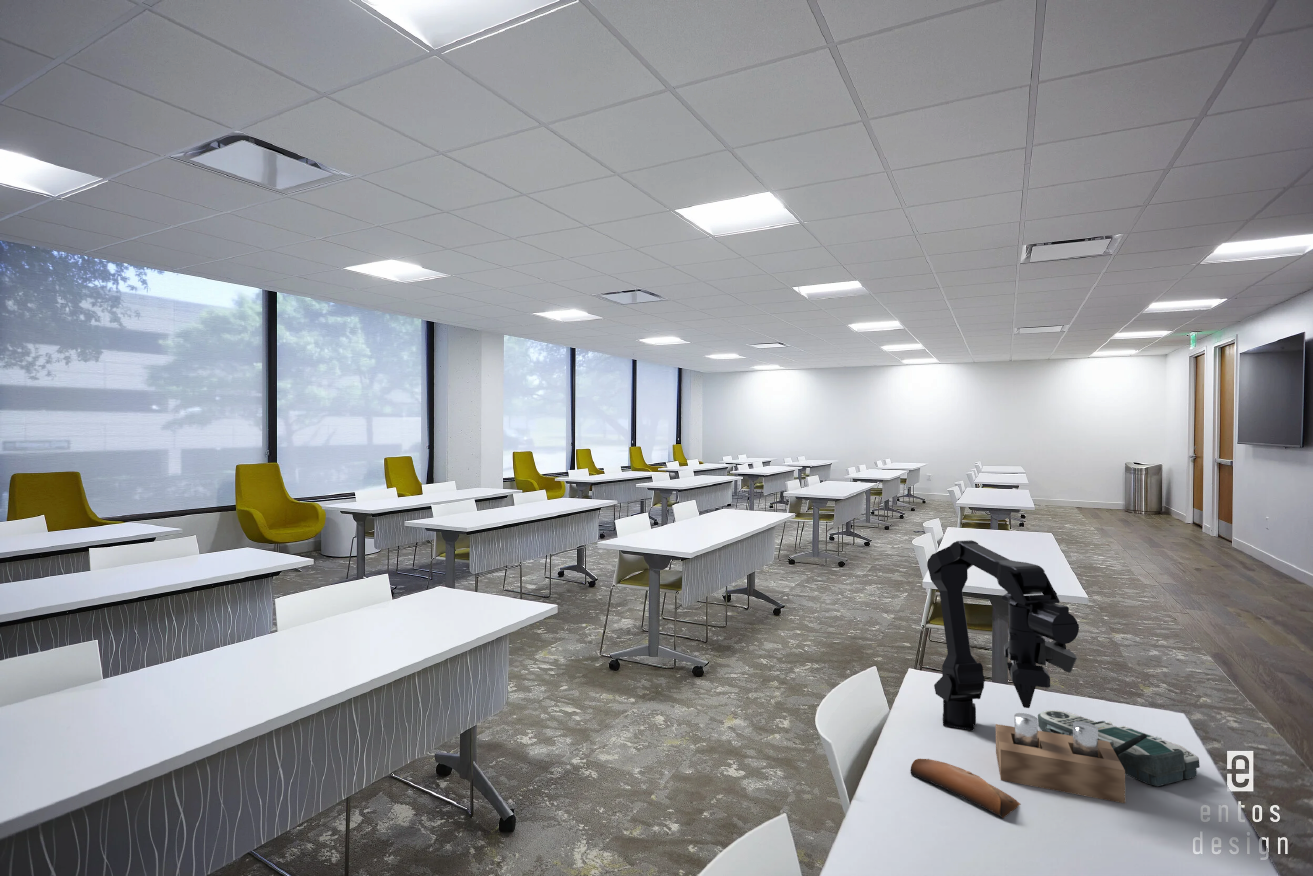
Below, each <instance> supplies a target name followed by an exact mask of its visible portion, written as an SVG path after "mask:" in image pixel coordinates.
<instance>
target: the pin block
mask: <svg viewBox="0 0 1313 876" xmlns="http://www.w3.org/2000/svg"><path fill="white" fill-rule="evenodd" d="M995 755H996V760H997V766H998V771H999V778H1000V781H1003V782H1008V783H1015V784H1020V785H1023V786H1024V785H1025V786H1031V787H1036V788H1042V789H1047V790H1052V791H1057V792H1062V793H1067V794H1073V795H1079V796H1083V797H1084V796H1085V797H1087V798H1088V797H1089V798H1094V799H1101V800H1106V801H1109V802H1110V801H1111V802H1116V803H1121V804H1126V774H1125V770H1124V768H1123V766H1122V764H1121V762H1120V761H1119V759H1118V757H1117V755H1116V753H1115V752H1114V750H1113V748H1112V746H1111V744H1110V743H1109V742H1108V741H1102V740H1098V758H1096V757H1090V756H1084V755H1078V754H1073V736H1069V735H1063V734H1057V733H1050V732H1044V731H1042V730H1038V748H1035V747H1029V746H1023V745H1017V744H1015V726H1010V725H1003V724H997V723H995Z"/></svg>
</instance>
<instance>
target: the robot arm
mask: <svg viewBox="0 0 1313 876" xmlns="http://www.w3.org/2000/svg"><path fill="white" fill-rule="evenodd" d="M926 565H927V566H926V567H927V570H928V573H929V578H930V580H931V582H932V584H933V585H934V586H935V587H936V588H937V590H938V591H939V596H940V597H939V600H940V606H941V614H942V620H943V628H944V637H945V643H946V651H947V655H946V657H945V659H944V661H943V662H942V663H943V664H942V665H941V672H942V673H941V674H942V676H941V677H940V678H939V679H938V680H937V681H936V682H935V683H934V685H933V688H934V692H935V695H936V696H938V697H939V698H941V699H942V700H943V701H942V705H943V707H942V708H943V709H942V710H943V712H942V726H944V727H949V728H956V729H961V730H967V731H975V726H976V725H977V714H976V713H977V709H976V708H977V707H976V703H975V702H974V701H973V700H981V697H982V693H983V690H984V689H985V682H986V680H985V677H984V676H985V675H984V666H983V664H982V663H981V662H977V660H976V659H975V658H974V656H973V655H972V652H971V643H970V638H969V636H970V635H969V631H968V624H967V615H966V608H965V603H964V595H963V590H964V588H965V585H966V583H967V581H968V577H969V576H968V575H969V573H968V570H969V569H971V567H973V566H974V567H976V568H978V569H979V570H980V571H983V572H984V573H986V574H988V575H990V576H993V578H995V579H996V580H997V584H998V586H1000V587H1001V588H1002V589H1004V591H1005V592H1006V593H1005V594H1003V595H1002V596H1001V599H1000V600H1002V601H1004V602H1007V603H1008V627H1007V635H1008V641H1007V642H1006V643H1005V644H1003V654H1004V658H1009V659H1010V660H1009V661H1011V662H1009V661H1008V662H1006V666H1007V669H1008V671H1009V672H1008V673H1009V676H1010V678H1011V682H1012V683H1013V686H1014V689H1015V690H1016V694H1017V695H1018V698H1019V700H1020V703H1021V705H1022V707H1023V708H1025V709H1030V708H1031V704H1032V701H1033V697H1034V694H1035V690H1036V688H1037V687H1040V688H1045V689H1047V688H1048V689H1049V688H1051V676H1050V674H1049V672H1048V670H1046V668H1045V667H1043V666H1046V664H1047V663H1048V664H1050V665H1053V666H1055V667H1057V668H1060V669H1062V671H1064V672H1066V673H1068V674H1069V673H1072V671H1073V668H1074V666H1075V663H1076V662H1077V660H1078V659H1077V658H1078V657H1077V656H1076V654H1075V652H1073V651H1071V649H1069V648H1068V649H1067V644H1070V643H1072V642H1074V640H1076V638H1077V636H1078V634H1079V632H1080V631H1079V629H1080V625H1079V623H1078V620H1077V619H1076V618H1075V616H1074V615H1073V614H1071V613H1070V608H1069V606H1067V605H1065V604H1064V605H1063V604H1059V603H1060V599H1059V596H1058V593H1057V592H1056V590H1055V589H1054V587H1053V585H1052V584H1051V581H1050V579H1049V577H1048V576H1047V574H1046V572H1045V569H1044V568H1042V567H1041V566H1040V565H1038V564H1036V563H1035V564H1033V563H1029V562H1027V561H1025V562H1024V561H1018V560H1017V561H1016V560H1012V559H1009V558H1007V557H1004V556H1003V555H1001V554H999V553H998V552H996V551H993V550H991V549H989V548H987V547H985V546H983V545H981V544H979V542H977V541H975V540H972V539H971V540H970V539H969V540H968V539H967V540H956V541H954V542H953V543H951V544H950V545H949V546H947V547H945V548H942V549H940V550H939V551H936V552H935V553H932V554H931V555H930V557H929V558H928V559H927V562H926ZM1044 637H1045V638H1047V639H1049V640H1046V639H1045V638H1044ZM1050 640H1051V641H1050ZM1037 664H1038V665H1037Z"/></svg>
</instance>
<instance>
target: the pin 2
mask: <svg viewBox="0 0 1313 876" xmlns="http://www.w3.org/2000/svg"><path fill="white" fill-rule="evenodd" d="M1073 754H1078V755H1084V756H1090V757H1096V758H1098V728H1097V727H1096V726H1095V725H1093V724H1090V723H1086V722H1074V723H1073Z"/></svg>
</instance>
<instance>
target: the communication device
mask: <svg viewBox="0 0 1313 876" xmlns="http://www.w3.org/2000/svg"><path fill="white" fill-rule="evenodd" d="M1037 719H1038V727H1039V728H1038V729H1040V731H1044V732H1050V733H1057V734H1063V735H1069V736H1073V723H1074V722H1086V723H1090V724H1093V725H1095V726H1096V727H1097V728H1098V740H1102V741H1108V742H1109V743H1110V744H1111V746H1112V748H1113V750H1114V752H1115V753H1116V755H1117V757H1118V759H1119V761H1120V762H1121V764H1122V766H1123V768H1124V770H1125V776H1128V777H1131V778H1133V779H1136V780H1138V781H1140V782H1143V783H1145V784H1147V785H1152V786H1154V787H1160V786H1163V785H1164V786H1165V785H1168V784H1172V783H1176V782H1181V781H1183V780H1184V779H1185V780H1189V779H1194V778H1196V777H1198V774H1197V769H1200V767H1201V765H1200V758H1199V756H1198V755H1196V754H1194V753H1193V752H1191V751H1190V750H1188V749H1187V748H1185V747H1184V746H1182V745H1180V744H1177V743H1174V742H1172V741H1168V740H1166V739H1163V738H1162V737H1160V736H1158V735H1156V736H1154V735H1152V734H1148V733H1146V732H1144V731H1143V732H1142V731H1140V730H1137V729H1134V728H1132V727H1129V726H1126V725H1121V726H1117V725H1114V724H1113V723H1112V722H1111V721H1107V722H1106V721H1105V720H1100V721H1095V720H1092V719H1090V718H1088V717H1084V716H1082V715H1078V714H1076V713H1073V712H1069V711H1065V710H1059V709H1057V710H1055V709H1048V710H1044V711H1042V712H1040V713H1038V715H1037Z"/></svg>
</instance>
